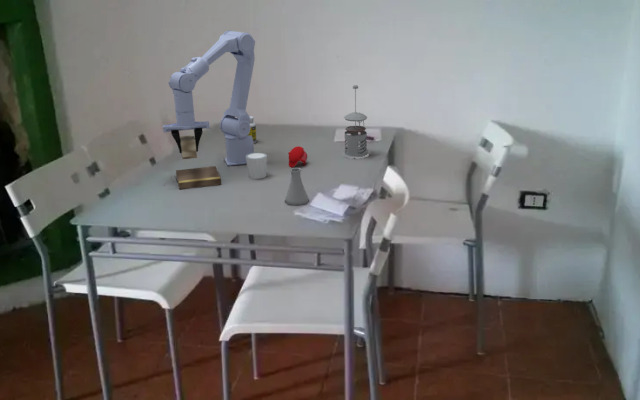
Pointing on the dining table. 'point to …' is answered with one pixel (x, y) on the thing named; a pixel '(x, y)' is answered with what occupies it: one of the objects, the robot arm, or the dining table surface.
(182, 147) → the beige block
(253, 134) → the supplement bottle
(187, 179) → the dock
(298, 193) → the flask
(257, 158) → the shot glass
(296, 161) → the cap
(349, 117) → the french press
